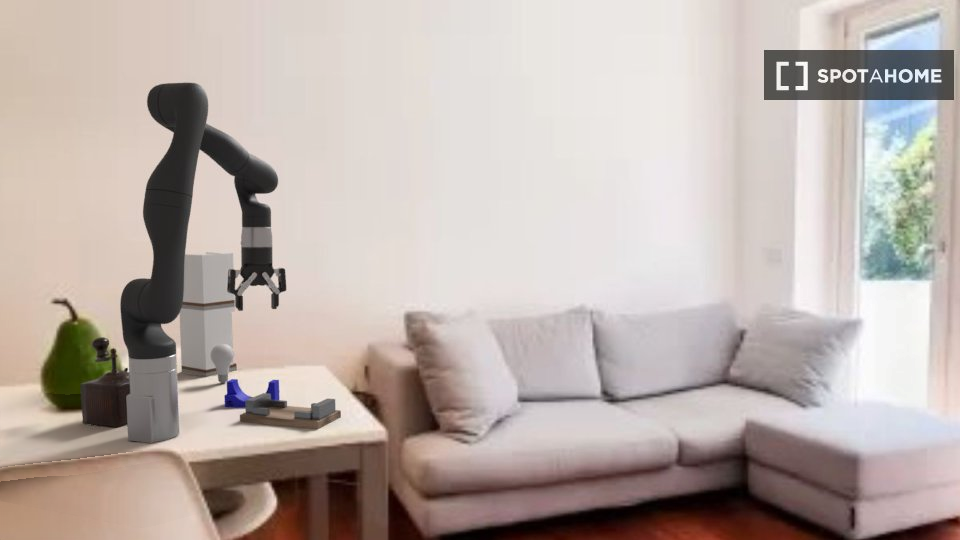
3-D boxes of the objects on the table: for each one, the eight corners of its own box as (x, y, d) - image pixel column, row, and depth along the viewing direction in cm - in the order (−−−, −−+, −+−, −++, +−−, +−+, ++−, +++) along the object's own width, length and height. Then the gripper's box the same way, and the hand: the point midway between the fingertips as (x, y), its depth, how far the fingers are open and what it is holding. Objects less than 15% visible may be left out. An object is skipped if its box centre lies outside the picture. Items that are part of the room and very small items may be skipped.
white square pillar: (236, 370, 226) (233, 253, 223) (206, 377, 217) (202, 255, 214) (212, 366, 232) (208, 252, 229) (181, 372, 223) (177, 254, 220)
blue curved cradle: (224, 407, 183) (224, 383, 183) (232, 403, 188) (231, 379, 187) (272, 408, 182) (272, 383, 182) (279, 403, 187) (278, 379, 186)
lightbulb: (210, 382, 210) (209, 343, 209) (233, 380, 213) (232, 341, 212) (212, 386, 205) (211, 346, 204) (236, 384, 207) (235, 344, 206)
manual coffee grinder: (154, 415, 176) (151, 339, 174) (115, 428, 165) (112, 347, 164) (104, 409, 181) (101, 335, 180) (64, 421, 171) (60, 343, 170)
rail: (318, 428, 164) (317, 408, 164) (240, 421, 170) (239, 401, 170) (340, 417, 174) (340, 397, 173) (265, 410, 180) (265, 391, 180)
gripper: (232, 246, 183) (233, 312, 184) (289, 245, 191) (290, 309, 192) (223, 245, 189) (224, 309, 190) (279, 245, 197) (280, 307, 198)
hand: (257, 309), depth 191 cm, fingers open, 8 cm apart
